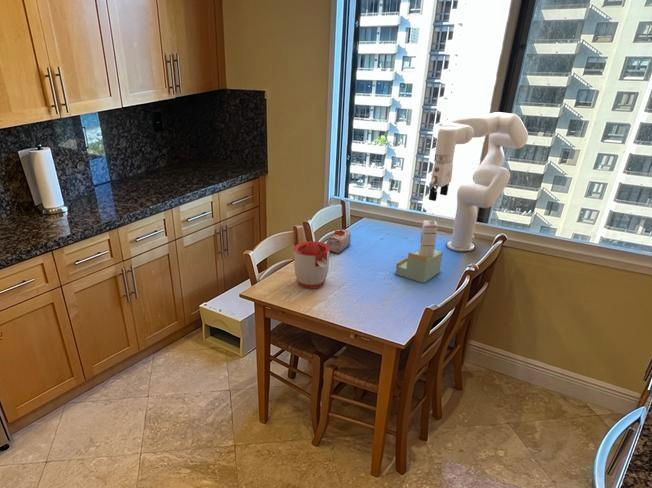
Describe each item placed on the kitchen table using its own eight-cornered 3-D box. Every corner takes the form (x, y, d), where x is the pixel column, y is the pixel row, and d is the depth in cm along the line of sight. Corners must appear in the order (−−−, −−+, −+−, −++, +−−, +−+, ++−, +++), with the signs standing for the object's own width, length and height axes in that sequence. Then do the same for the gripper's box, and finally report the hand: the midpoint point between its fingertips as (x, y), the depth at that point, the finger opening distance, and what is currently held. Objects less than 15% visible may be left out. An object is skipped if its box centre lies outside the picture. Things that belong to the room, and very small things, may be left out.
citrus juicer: (308, 295, 219) (309, 252, 208) (287, 280, 232) (286, 239, 222) (338, 286, 225) (340, 244, 214) (315, 272, 238) (316, 231, 227)
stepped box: (411, 264, 241) (415, 240, 234) (439, 272, 232) (443, 247, 226) (395, 274, 233) (398, 249, 226) (423, 282, 224) (427, 257, 218)
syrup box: (433, 256, 223) (438, 224, 215) (419, 256, 224) (424, 224, 216) (432, 251, 228) (437, 220, 220) (418, 251, 229) (422, 219, 221)
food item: (339, 255, 254) (340, 236, 248) (325, 252, 258) (325, 233, 252) (351, 245, 263) (352, 227, 258) (337, 243, 267) (338, 225, 262)
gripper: (442, 163, 211) (435, 204, 220) (461, 155, 221) (455, 194, 230) (425, 161, 216) (420, 200, 225) (445, 152, 226) (439, 191, 235)
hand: (437, 197), depth 228 cm, fingers open, 9 cm apart
